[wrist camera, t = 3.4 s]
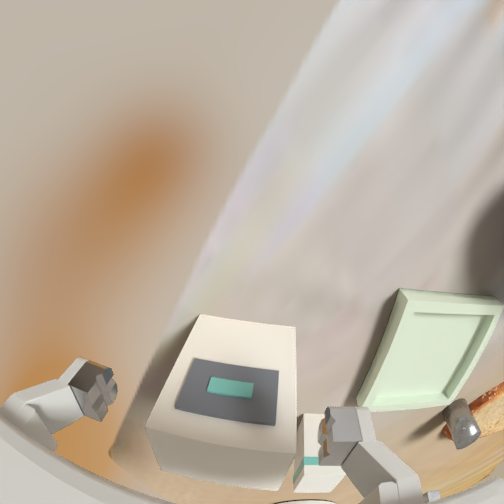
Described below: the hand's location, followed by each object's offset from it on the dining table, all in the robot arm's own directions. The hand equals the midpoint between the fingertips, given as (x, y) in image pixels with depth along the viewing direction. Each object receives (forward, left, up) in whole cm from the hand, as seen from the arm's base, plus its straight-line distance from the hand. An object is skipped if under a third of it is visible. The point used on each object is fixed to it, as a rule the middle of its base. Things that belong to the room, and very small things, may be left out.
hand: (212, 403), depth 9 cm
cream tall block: (-8, 0, -13) cm, 15 cm away
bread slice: (-19, -40, -14) cm, 47 cm away
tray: (-7, -18, -13) cm, 23 cm away
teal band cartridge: (-19, -9, -13) cm, 25 cm away
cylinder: (-17, -28, -13) cm, 35 cm away
